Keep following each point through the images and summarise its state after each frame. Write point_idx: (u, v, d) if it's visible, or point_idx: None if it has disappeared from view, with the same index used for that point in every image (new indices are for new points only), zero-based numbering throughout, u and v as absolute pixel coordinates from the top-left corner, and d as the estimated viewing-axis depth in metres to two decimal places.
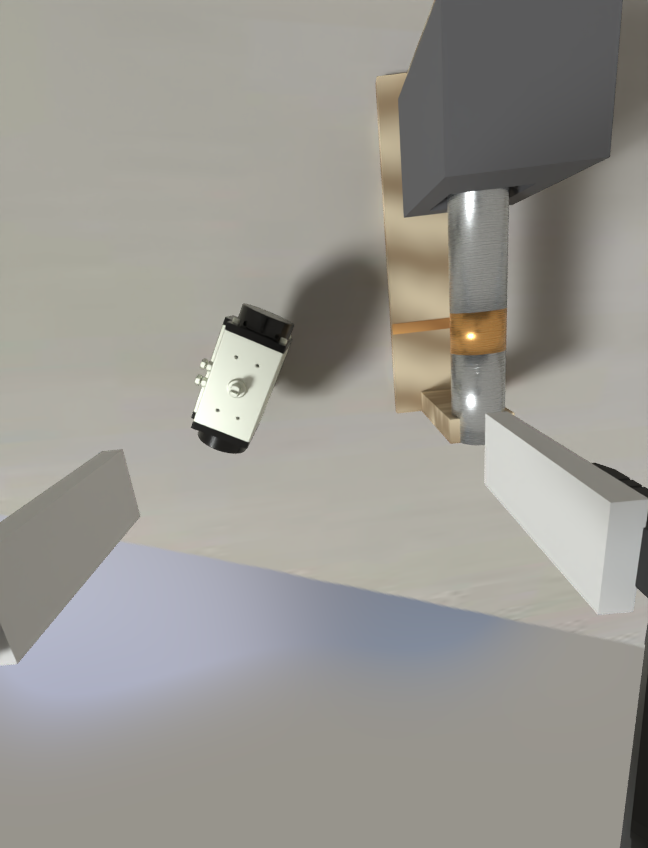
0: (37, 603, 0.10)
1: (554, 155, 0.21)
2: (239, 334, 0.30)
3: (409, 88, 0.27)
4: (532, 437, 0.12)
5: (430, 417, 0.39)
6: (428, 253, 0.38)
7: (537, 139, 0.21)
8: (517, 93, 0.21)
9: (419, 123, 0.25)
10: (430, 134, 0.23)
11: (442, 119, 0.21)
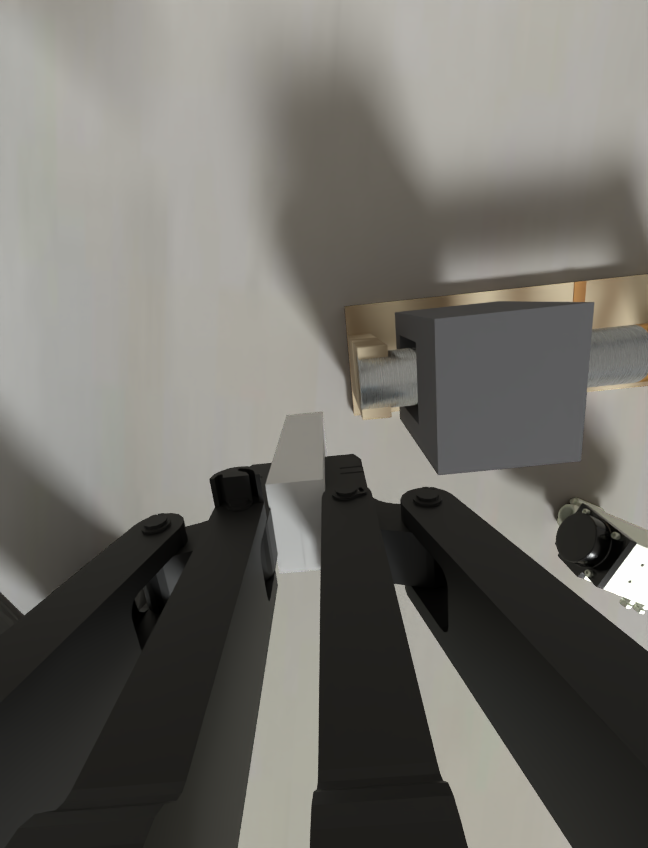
0: None
1: (582, 360, 0.21)
2: (610, 578, 0.33)
3: None
4: (311, 433, 0.14)
5: None
6: None
7: (564, 379, 0.22)
8: (524, 403, 0.22)
9: None
10: None
11: (530, 464, 0.23)
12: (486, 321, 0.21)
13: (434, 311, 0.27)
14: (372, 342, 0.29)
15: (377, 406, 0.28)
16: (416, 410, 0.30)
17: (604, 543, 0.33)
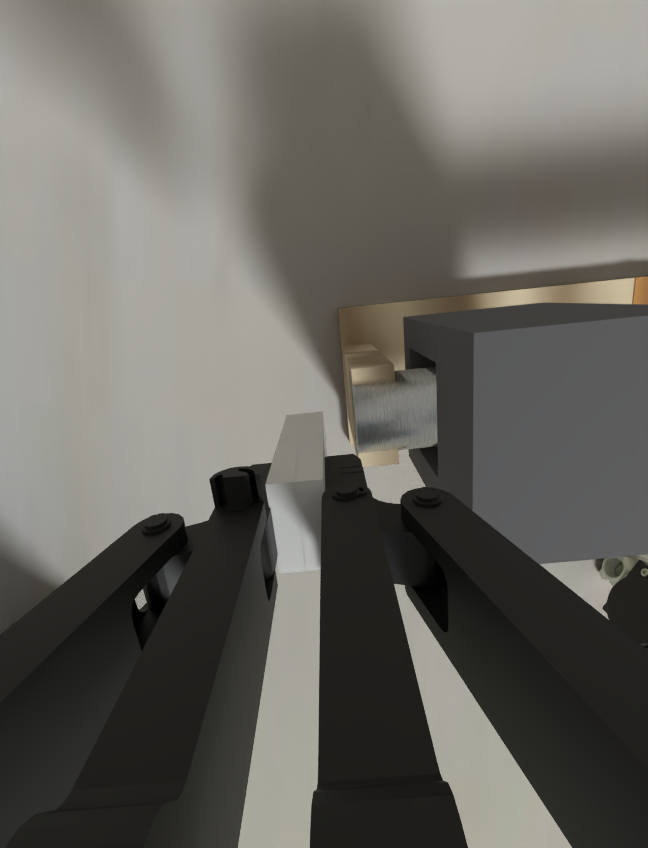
0: None
1: None
2: None
3: None
4: (311, 433, 0.14)
5: None
6: None
7: None
8: (611, 465, 0.14)
9: None
10: None
11: (613, 554, 0.15)
12: (558, 337, 0.13)
13: (461, 317, 0.19)
14: (373, 358, 0.21)
15: (379, 449, 0.20)
16: (432, 451, 0.22)
17: None
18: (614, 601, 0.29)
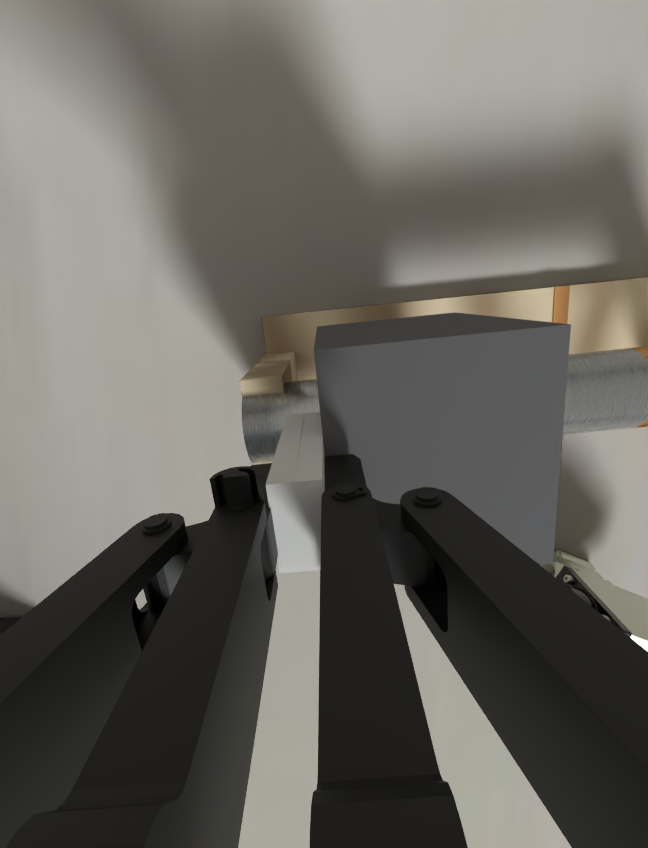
0: None
1: (552, 414, 0.14)
2: None
3: None
4: (310, 433, 0.14)
5: None
6: None
7: (525, 443, 0.14)
8: (463, 478, 0.14)
9: None
10: None
11: None
12: (397, 354, 0.13)
13: (354, 329, 0.19)
14: (272, 369, 0.22)
15: (272, 460, 0.20)
16: None
17: None
18: None
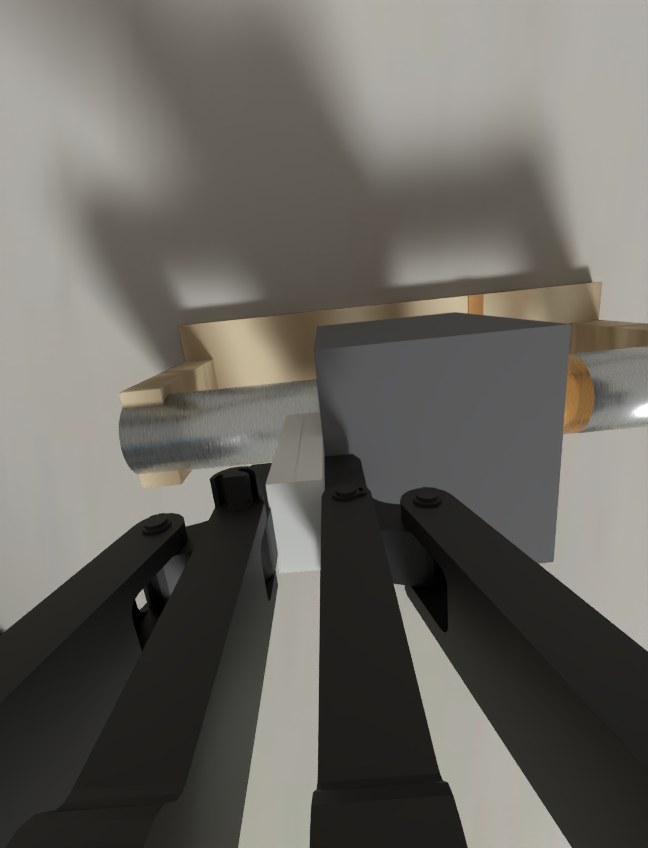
0: None
1: (552, 414, 0.14)
2: None
3: None
4: (310, 433, 0.14)
5: None
6: None
7: (526, 443, 0.14)
8: (463, 478, 0.14)
9: None
10: None
11: None
12: (397, 354, 0.13)
13: (354, 329, 0.19)
14: (164, 380, 0.22)
15: (156, 471, 0.20)
16: None
17: None
18: None
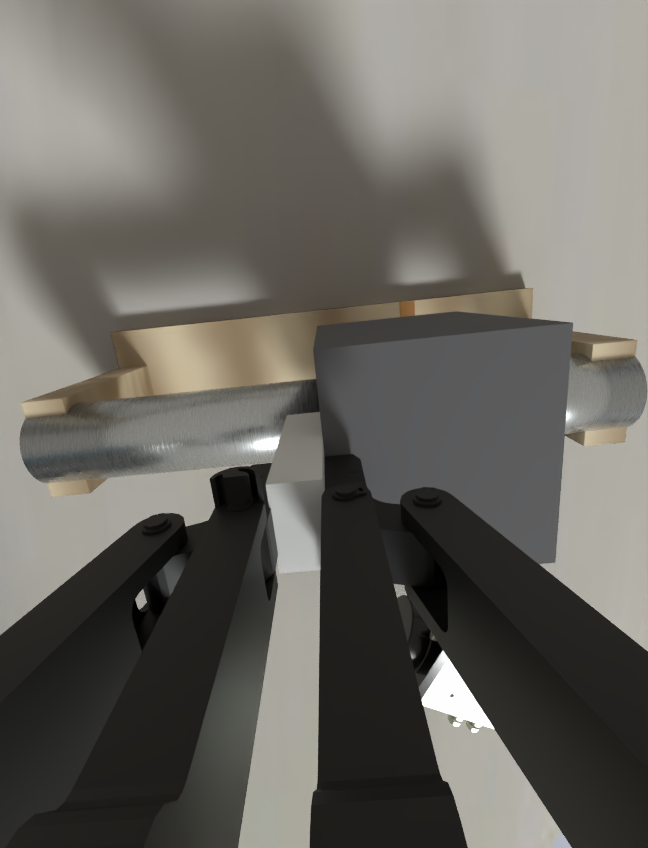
0: None
1: (554, 414, 0.13)
2: (425, 691, 0.25)
3: None
4: (310, 433, 0.14)
5: None
6: None
7: (527, 443, 0.14)
8: (464, 478, 0.14)
9: None
10: None
11: None
12: (397, 353, 0.13)
13: (354, 328, 0.19)
14: (76, 389, 0.22)
15: (63, 480, 0.21)
16: None
17: (420, 644, 0.26)
18: None
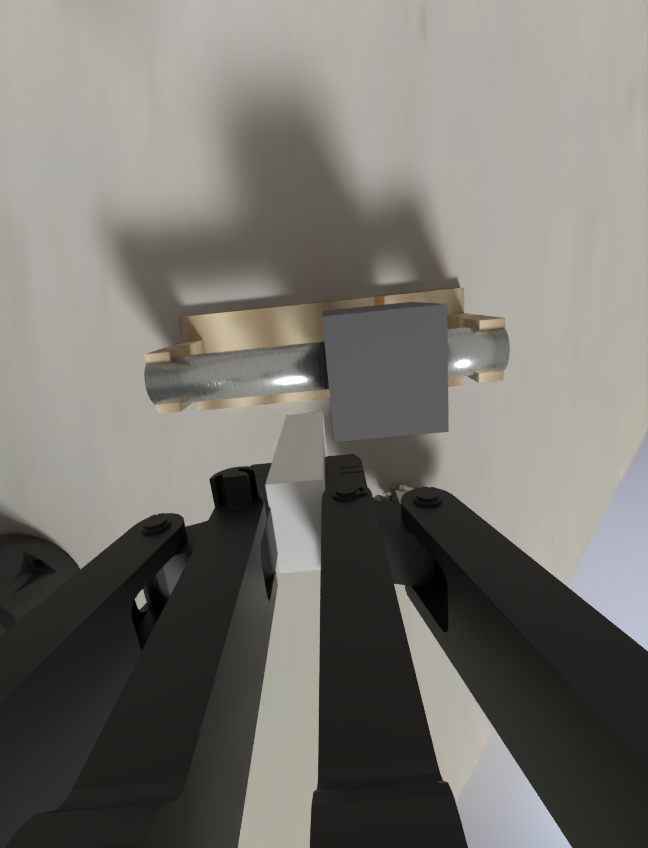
0: None
1: (441, 350, 0.27)
2: None
3: None
4: (311, 433, 0.14)
5: None
6: None
7: (429, 365, 0.27)
8: (398, 384, 0.28)
9: None
10: None
11: (409, 434, 0.29)
12: (363, 318, 0.26)
13: (344, 310, 0.33)
14: (170, 349, 0.35)
15: (166, 402, 0.34)
16: None
17: None
18: None
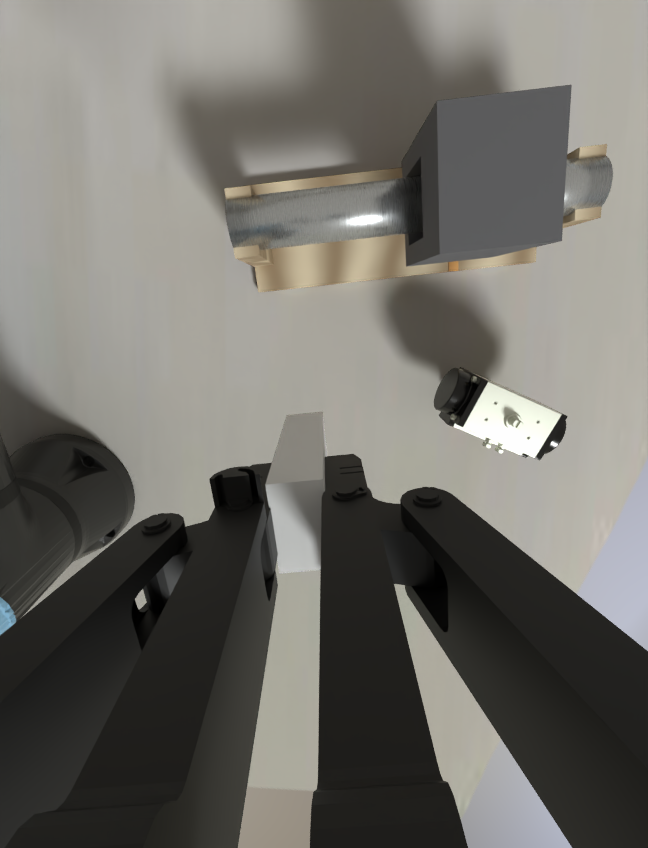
0: None
1: (561, 141, 0.25)
2: (468, 416, 0.37)
3: (427, 261, 0.34)
4: (311, 433, 0.14)
5: None
6: (389, 239, 0.42)
7: (547, 160, 0.26)
8: (512, 183, 0.26)
9: (469, 255, 0.32)
10: (501, 249, 0.30)
11: (518, 245, 0.27)
12: (480, 103, 0.25)
13: None
14: None
15: (245, 243, 0.32)
16: None
17: (464, 387, 0.38)
18: (438, 392, 0.41)
